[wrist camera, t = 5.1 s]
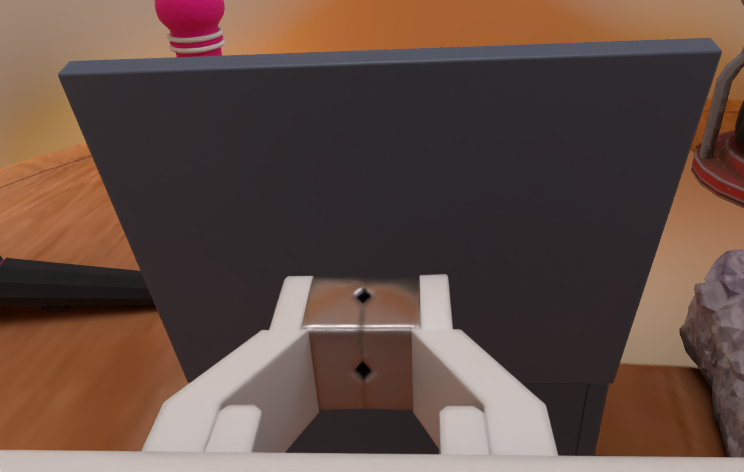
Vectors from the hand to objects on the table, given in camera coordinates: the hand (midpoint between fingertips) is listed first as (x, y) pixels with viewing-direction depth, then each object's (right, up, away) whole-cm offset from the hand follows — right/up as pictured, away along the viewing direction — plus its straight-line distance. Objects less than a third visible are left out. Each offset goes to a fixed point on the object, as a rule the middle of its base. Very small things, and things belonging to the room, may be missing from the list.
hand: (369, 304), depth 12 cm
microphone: (-21, -4, +32) cm, 39 cm away
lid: (+1, +1, +9) cm, 9 cm away
